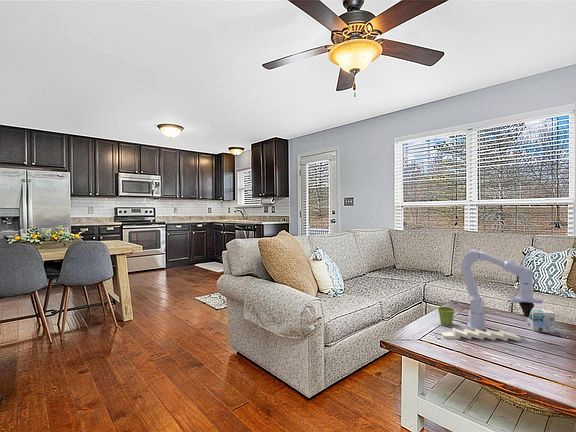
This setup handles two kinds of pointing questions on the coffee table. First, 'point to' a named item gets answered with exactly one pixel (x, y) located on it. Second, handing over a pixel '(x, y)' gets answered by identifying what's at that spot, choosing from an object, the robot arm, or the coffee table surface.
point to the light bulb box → (541, 320)
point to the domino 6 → (509, 335)
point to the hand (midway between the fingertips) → (526, 316)
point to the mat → (494, 340)
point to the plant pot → (446, 315)
